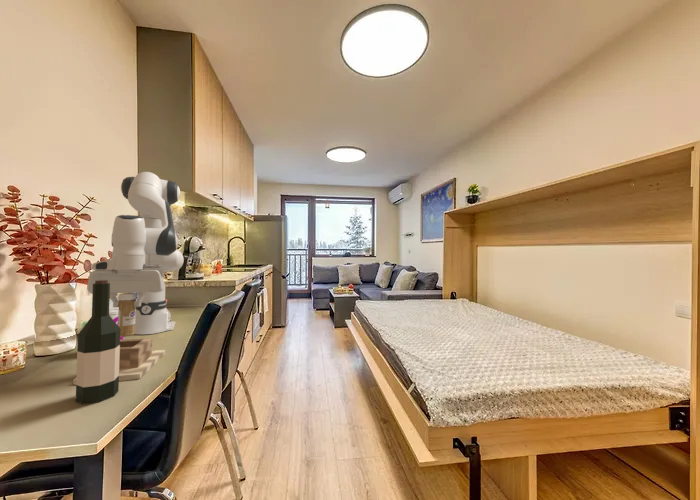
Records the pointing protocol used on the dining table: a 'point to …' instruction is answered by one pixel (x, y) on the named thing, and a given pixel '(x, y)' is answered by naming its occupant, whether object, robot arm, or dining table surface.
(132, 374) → the holder board
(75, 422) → the dining table surface
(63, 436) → the dining table surface
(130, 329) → the sprinkles bottle
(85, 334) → the wine bottle
